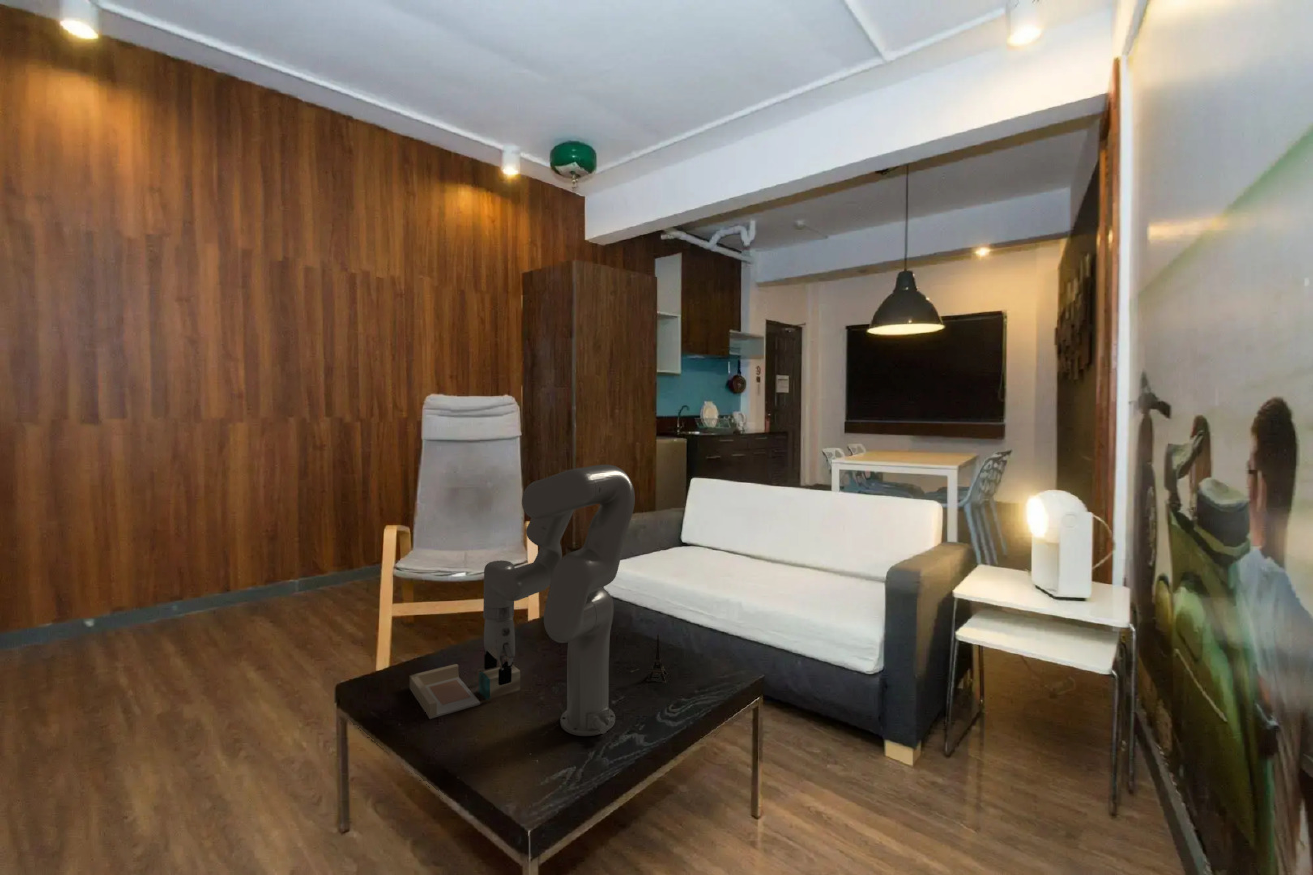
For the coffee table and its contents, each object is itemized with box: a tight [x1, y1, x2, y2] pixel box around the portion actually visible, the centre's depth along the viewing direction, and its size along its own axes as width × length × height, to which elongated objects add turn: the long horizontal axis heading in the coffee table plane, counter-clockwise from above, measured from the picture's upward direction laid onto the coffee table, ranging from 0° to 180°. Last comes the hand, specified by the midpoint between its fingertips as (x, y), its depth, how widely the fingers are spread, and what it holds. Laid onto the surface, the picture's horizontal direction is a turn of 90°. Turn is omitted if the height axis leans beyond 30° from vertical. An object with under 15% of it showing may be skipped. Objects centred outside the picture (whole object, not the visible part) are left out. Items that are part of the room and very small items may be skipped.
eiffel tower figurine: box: [629, 633, 668, 684], centre depth 164 cm, size 15×10×13 cm
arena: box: [409, 663, 481, 720], centre depth 152 cm, size 18×12×4 cm, turn 36°
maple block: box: [478, 664, 521, 701], centre depth 156 cm, size 5×9×5 cm, turn 126°
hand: (497, 675), depth 156 cm, fingers open, 9 cm apart
